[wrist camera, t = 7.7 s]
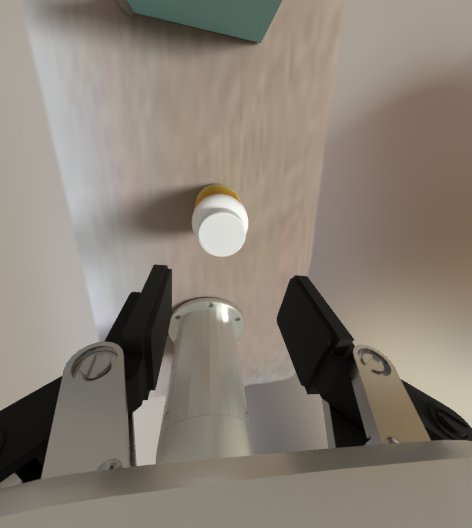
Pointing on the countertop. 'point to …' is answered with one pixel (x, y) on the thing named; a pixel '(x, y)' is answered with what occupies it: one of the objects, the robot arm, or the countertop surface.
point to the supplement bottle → (219, 220)
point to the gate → (211, 14)
